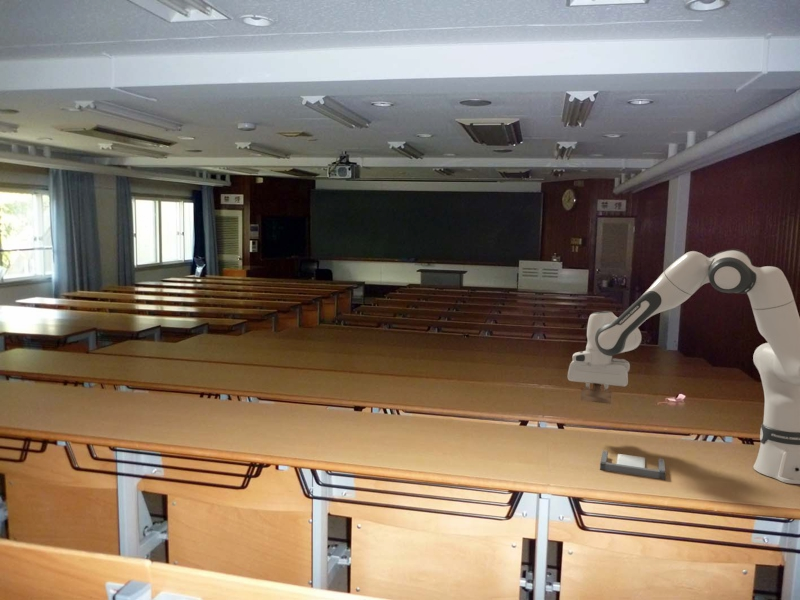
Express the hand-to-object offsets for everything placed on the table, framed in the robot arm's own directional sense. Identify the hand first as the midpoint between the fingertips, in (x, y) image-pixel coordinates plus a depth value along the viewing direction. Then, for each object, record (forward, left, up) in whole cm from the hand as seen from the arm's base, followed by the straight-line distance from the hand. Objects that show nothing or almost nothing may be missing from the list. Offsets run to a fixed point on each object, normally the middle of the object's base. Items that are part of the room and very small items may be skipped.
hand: (596, 395), depth 216 cm
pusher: (0, -2, 0) cm, 2 cm away
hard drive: (-13, +25, -15) cm, 32 cm away
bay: (-13, +27, -15) cm, 33 cm away
